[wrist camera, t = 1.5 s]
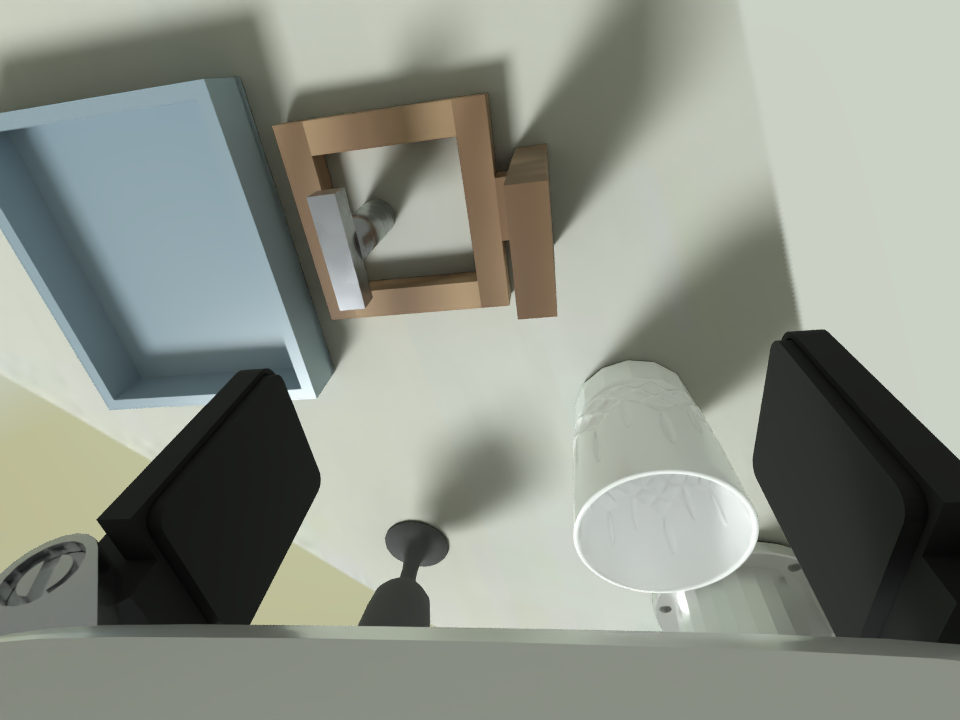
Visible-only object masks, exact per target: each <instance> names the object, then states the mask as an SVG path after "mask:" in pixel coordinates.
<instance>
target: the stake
mask: <svg viewBox="0 0 960 720" xmlns="http://www.w3.org/2000/svg"><path fill="white" fill-rule="evenodd" d="M306 198H307V201H308V205H309V208H310V211H311V215H312V218H313V222H314V225H315V228H316V232H317V235H318V238H319V242H320V245H321V249H322V252H323V255H324V259H325V262H326V265H327V269H328V272H329V276H330V279H331V282H332V286H333V289H334V292H335V296H336V299H337V303H338V306H339V309H340V311H343V310H355V309H365V308H366V307H367V306H368V304H369V303H370V301H371V300H372V299H373V296H372V292H371V288H370V284H369V280H368V276H367V272H366V269H365V265H364V261H363V260H364V259H365V258H366V257H367V255H368V254H369V253H370V252H371V251H372V250H373V249H374V248H375V246H376V245H377V244H378V243H379V242H380V241H381V240H382V239H383V237H384V236H385V235H386V234H387V233H388V232H389V231H390V230H391V228H392V227H393V225H394V222H395V216H394V212H393V210H392V208H391V207H390V206H389V205H388V204H387V203H386V202H384V201H382V200H378V199H374V200H370V201H368V202H367V203H365V204H364V205H363V206H362V207H360V208H359V209H358V210H357V211H356V212H354V213H353V214H351V210H350V206H349V203H348V199H347V195H346V191H345V187H343V188H335V189H327V190H319V191H316V192H314V193H313V194H311V195H309V196H308V197H306Z"/></svg>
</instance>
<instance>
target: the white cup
mask: <svg viewBox="0 0 960 720" xmlns="http://www.w3.org/2000/svg"><path fill="white" fill-rule="evenodd" d="M758 535H759V520H758V516H757V513H756V511H755V508H754V507H753V505H752V503H751V501H750V499H749V497H748V496H747V494H746V492H745V490H744V488H743V486H742V484H741V483H740V481H739V479H738V477H737V475H736V473H735V471H734V469H733V467H732V466H731V464H730V462H729V460H728V458H727V456H726V454H725V452H724V450H723V448H722V446H721V445H720V443H719V441H718V440H717V438H716V437H715V435H714V433H713V431H712V429H711V427H710V426H709V424H708V422H707V421H706V419H705V417H704V415H703V414H702V412H701V410H700V408H699V407H698V406H697V405H696V404H695V403H694V401H693V399H692V397H691V395H690V394H689V392H688V390H687V389H686V387H685V386H684V384H683V383H682V381H681V380H680V378H679V377H678V375H677V374H676V373H674V372H672V371H670V370H668V369H667V368H665V367H663V366H661V365H659V364H657V363H655V362H646V361H632V360H627V361H624V362H620V363H617V364H614V365H611V366H608V367H604V368H602V369H601V370H600V371H598V372H597V373H596V374H595V375H594V376H592V377H591V378H590V379H589V380H588V381H586V382H585V383H584V384H583V386H582V389H581V391H580V393H579V396H578V398H577V400H576V403H575V433H574V443H573V537H574V544H575V547H576V550H577V552H578V554H579V556H580V558H581V559H582V561H583V562H584V563H585V564H586V566H587V567H588V568H589V569H590V570H592V571H593V572H594V573H595V574H597V575H598V576H600V577H601V578H603V579H604V580H606V581H608V582H610V583H613V584H615V585H617V586H620V587H623V588H626V589H630V590H635V591H640V592H648V593H675V592H683V591H689V590H693V589H697V588H701V587H704V586H707V585H709V584H712V583H714V582H717V581H719V580H721V579H723V578H724V577H726V576H728V575H729V574H731V573H732V572H734V571H735V570H736V569H737V568H739V567H740V566H741V565H742V564H743V563H744V562H745V561H746V560H747V558H748V557H749V556H750V554H751V553H752V551H753V549H754V547H755V545H756V543H757V540H758Z"/></svg>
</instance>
